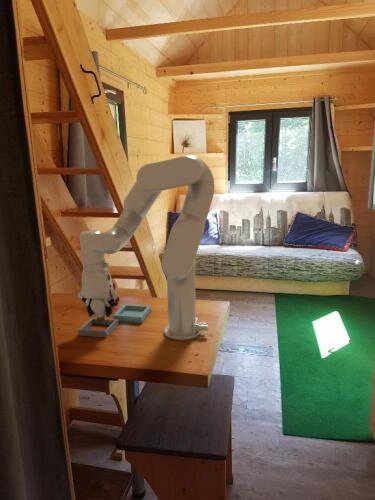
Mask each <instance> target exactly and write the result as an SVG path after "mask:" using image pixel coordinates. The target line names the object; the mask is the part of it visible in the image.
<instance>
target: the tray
mask: <svg viewBox="0 0 375 500" xmlns="http://www.w3.org/2000/svg"><path fill="white" fill-rule="evenodd" d="M151 313H152V305H146V304H129V303H128V304H127V303H124V304H123V305H122V306H121V307H120V308H119V309H118V310H117V311H116V312H114V314H113V315H112V316H113V318H112V319H118V323H127V324H128V323H130V324H143V323H144V322H145V321H146V319H147V318H148V317H149V316H150V314H151Z"/></svg>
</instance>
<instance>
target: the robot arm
mask: <svg viewBox="0 0 375 500" xmlns="http://www.w3.org/2000/svg"><path fill="white" fill-rule="evenodd" d="M214 180H215V179H214V175H213V173H212V171H211V169H210V167H209V166H208V165H207V164H206V162H205V161H204V160H202V158H200V157H198V156H196V155H193V154H192V155H188V154H187V155H181V156H179V157H174V158H169V159H165V160H161V161H157V162H150V163H146V164H144V165H142V166H141V167H140V168H139V169H138V171H137V173H136V181H135V182H134V184H133V186H132V187H131V188H130V190H129V192H128V194H127V195H126V196H125V198H124V200H123V208H122V212H121V213H120V216H119V217H118V219H117V220H116V222H115V223H114V224H113V226H112V227H111V228H110V229H108V230H106V231H104V232H101V231H100V230H96V229H93V230H92V229H90V230H85V231H82V232H80V234H79V238H78V239H79V245H80V246H79V247H80V253H81V261H82V267H83V269H82V271H81V290H80V291H79V292H78V293H77V294H76V295H77V297H78V298H79V299H80V300H81V301H82V302H83V303H84V304H85V306H86V307H87V314H88V317H92V316H93V315H95V312H94V311H93V310H92V309H91V306H90V304H91V301H92V299H103V300H104V302H105V304H106V307H105V317H106V318H109V317H110V316H111V315H112V314H113V308H112V307H113V306H112V304H114V303H113V302H114V301H115V300H116V298H117V297H118V296H119V297H120V294H119V293H118V292H117V291H116V289H115V290H114V289H113V284H112V283H113V280H112V276H111V273H110V270H109V267H110V264H109V263H110V262H109V263H108V262H106V258H105V254H107V255H111V254H112V255H113V254H116V253H118V252H120V250H122V249H123V247H125V246H126V245H127V244H129V242H130V241H131V238H132V237H134V234H135V233H136V231H137V230H138V228H139V227H140V225H141V224H142V222H143V220H145V218H146V217H147V215H148V213H149V212H150V210H151V208H152V207H153V205H154V203H155V202H156V201H157V199H158V197H160V195H161V193H162V192H163V191H169V190H173V189H176V188H177V189H178V188H181V187H187V191H186V194H185V196H184V200H183V205H182V207H181V211H180V214H179V216H178V218H177V219H176V220H175V221H174V223H173V225H172V227H171V230H170V232H169V235H168V238H167V242H166V245H165V248H164V252H163V254H162V258H161V265H160V266H161V271H162V273H163V275H164V276H165V277H166V289H167V291H166V292H167V293H166V295H167V296H166V297H167V316H168V317H167V319H168V322H167V323H168V324H167V325H166V326H165V328H164V331H163V332H164V335H165V337H167V338H169V339H171V340H176V341H188V340H192V339H194V338H197V337H198V336H199V335H200V334H201V331H202V332H204V331H205V332H208V331H209V325H207V322H199V318H198V317H197V315H196V314H197V313H196V312H197V311H196V307H197V306H196V264H197V263H196V259H197V258H196V257H197V252H198V250H199V247H200V244H201V242H202V241H201V240H202V238H203V236H204V232H205V225H206V223H207V218H208V215H209V212H210V208H211V205H212V202H213V198H214V194H215V181H214ZM110 295H113V297H112V299H111V297H110Z"/></svg>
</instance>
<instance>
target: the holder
mask: <svg viewBox="0 0 375 500" xmlns="http://www.w3.org/2000/svg"><path fill="white" fill-rule="evenodd" d="M119 323H120V322H118V319H114V318H107V317H106V318H105V321H104V322H103V323H99V322H97V317H91V318H90V319H88V321H86V322H85V323H84V324H83V325H82V326H80V328H78V329H77V333H78V336H84V337H85V336H86V337H96V338H108V337H109V336H110V335H111V333H112V332H113V331H114V330H115V329H116V328H117V327H118V326H119ZM93 325H107V326H108V327H107V328H106V329H105V330H101V329H90V328H91V327H92V326H93Z"/></svg>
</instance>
